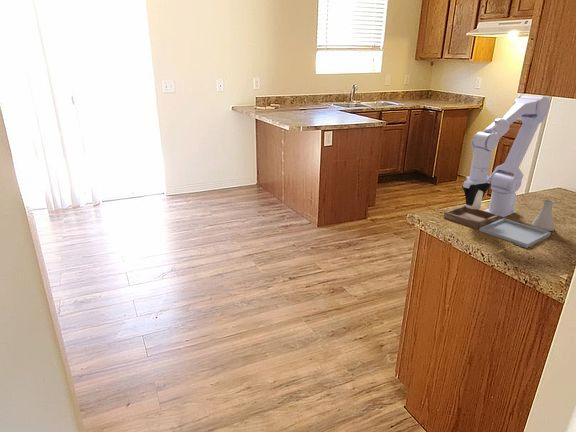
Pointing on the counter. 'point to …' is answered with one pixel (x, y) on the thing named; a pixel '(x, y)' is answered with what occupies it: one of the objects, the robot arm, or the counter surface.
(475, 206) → the cream cylinder
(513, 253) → the counter surface
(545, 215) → the flask
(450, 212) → the brown square tray
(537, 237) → the slate tray
